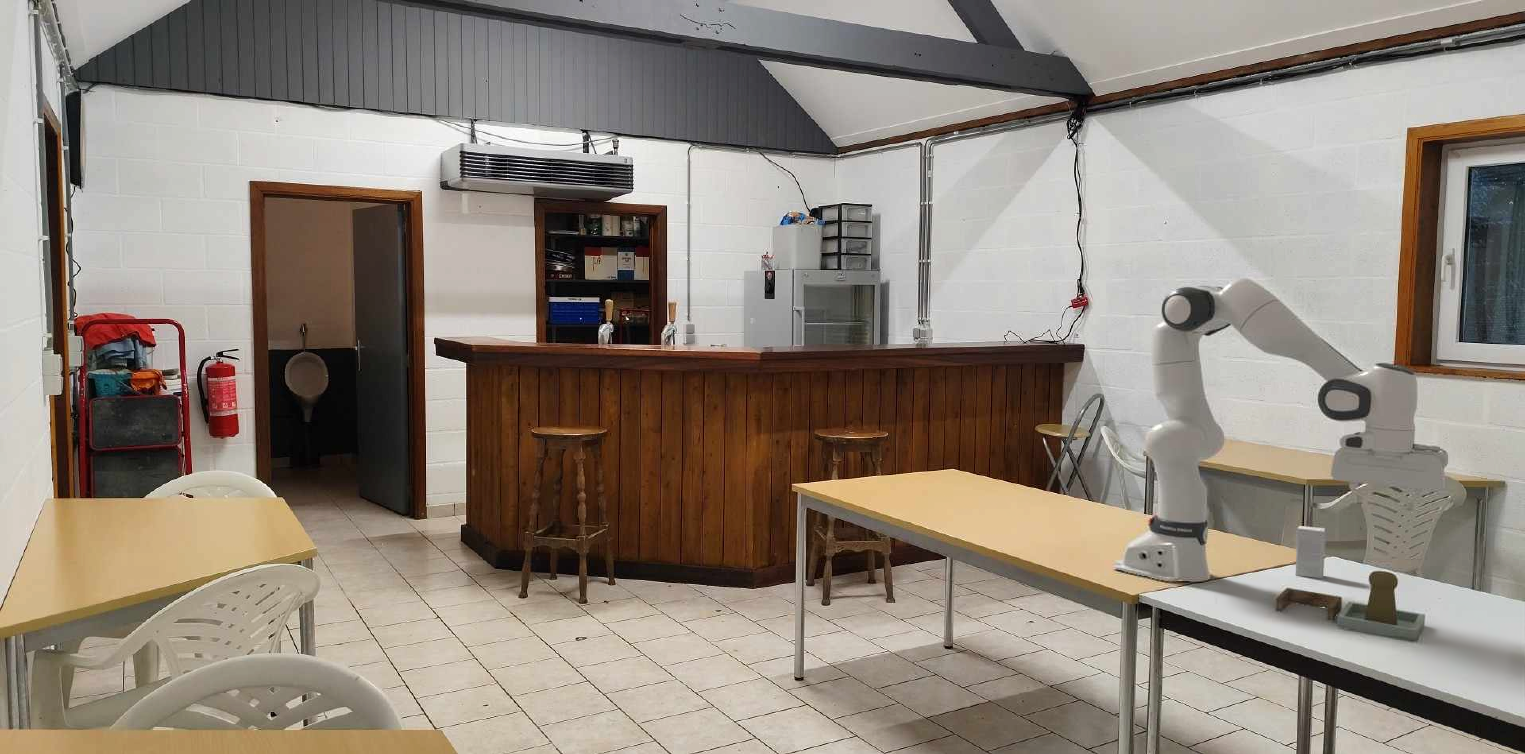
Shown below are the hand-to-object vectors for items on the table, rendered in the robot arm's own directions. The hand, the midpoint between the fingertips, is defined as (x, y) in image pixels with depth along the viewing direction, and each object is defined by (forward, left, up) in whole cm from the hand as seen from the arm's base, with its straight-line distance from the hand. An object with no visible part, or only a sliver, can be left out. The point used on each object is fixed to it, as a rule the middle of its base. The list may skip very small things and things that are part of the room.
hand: (1384, 507), depth 211 cm
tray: (+1, -1, -25) cm, 25 cm away
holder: (-13, +1, -25) cm, 28 cm away
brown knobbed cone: (+1, -1, -25) cm, 25 cm away
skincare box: (-19, +35, -25) cm, 47 cm away
